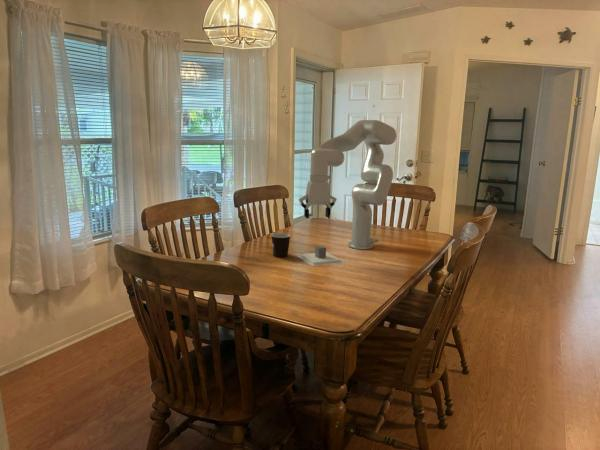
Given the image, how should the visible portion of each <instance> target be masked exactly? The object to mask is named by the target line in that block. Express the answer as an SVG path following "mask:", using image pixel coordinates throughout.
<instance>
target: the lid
mask: <svg viewBox="0 0 600 450" xmlns="http://www.w3.org/2000/svg"><path fill="white" fill-rule="evenodd" d="M314 248H315V249H314V252H313V253H312V252H311V253H303V254H300V256H301V257H303V258H304V259H306V260H307V261H309V262H310V263H312V264H313V265H315V264H324V263H333V262H340V260H341V259H340V258H338V257H336V256H335V255H333V254H331V253H330V252H328V251H327V248H326V246H324V245H315V247H314Z"/></svg>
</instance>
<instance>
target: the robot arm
mask: <svg viewBox="0 0 600 450" xmlns="http://www.w3.org/2000/svg"><path fill="white" fill-rule="evenodd" d="M396 140H397V132H396V129H395V127H393V126H392V125H389V124H387V123H385V122H383V121H380V120H376V119H360V120H358V121H357V122H355V123H354V124H352V126H351V127H349V129H348V130H346V131H345V132H344V133H342V134H340V135H337V136H335V137H332V138H330V139H328V140H326V141H324V142H323V143H321V144H320V145H319V146H318V147H317V148H316V149H312V150H311V152H310V169H309V170H310V171H309V172H310V173H309V181H307V183H306V191H305V195H304V196H302V197H300V198H299V199H298V201H299V204H300V206H301V207H302V208H303V215H304V218H305V219H310V209H309V208H310V206H323V205H325V218H328V219H329V218H330V217H331V209H332V208H333V206H334V205H335V204H336V203H337V198H336V197H334V196H333V195H331V192H330V188H331V187H330V183H329V180H330V179H331V175H329V174H328V172H329V167H332V168H333V167H335V168H336V167H339V166H342V164H344V161H345V154H344V152H349V151H353V150H355V149H357V147H359V145H360V144H361V143H363V141H364V144H365V147H366V155H365V159H364V162H363V165H362V168H361V172H360V178H361V180H362V181H363V182H366V183H357V184H355V185H354V186H353V187H352V189H351V199H352V223H351V241H350V242H348V243H347V246H348V247H349V248H350V249H355V250H371V249H372V248H374V243H379V240H380V239H379V238H374V237H372V223H373V222H372V221H373V220H372V219H373V210H372V207H371V206H377V207H378V206H382V205H384V204H385V202H386V201H387V197H388V196H389V192H390V188H391V185H392V182H393V179H394V178H393V177H394V170H393V167H391V166H390V165H388V164H383V162H384V157H385V155H384V151H383V149H382V146H381V145H386V146H389V145H393V144H394V143H395V142H396ZM369 183H370V184H369ZM371 183H372V184H371ZM304 202H305V203H304Z"/></svg>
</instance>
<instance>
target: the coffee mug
mask: <svg viewBox="0 0 600 450" xmlns="http://www.w3.org/2000/svg"><path fill="white" fill-rule="evenodd" d="M270 238H271V245H272V247H271V248H272V256H273V257H274V258H277V259H279V258H280V259H281V258H287V257H288V255H289V247H290V243H291V242H290V241H291V235H290V234H288V233H283V232H277V233H272V234H271V237H270Z"/></svg>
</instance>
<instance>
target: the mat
mask: <svg viewBox="0 0 600 450" xmlns="http://www.w3.org/2000/svg"><path fill="white" fill-rule="evenodd" d="M297 258H299V259H300V260H302V261H303V262H305V263H306V264H308V265H309V266H311V267H315V266H316V267H317V266H325V265H326V266H327V265H333V264H334V265H335V264H343V263H344V264H345V261H343V260H341V259H340V262H333V263H324V264H315V265H313V264H312V263H310V262H309V261H307V260H306V259H304V258H303V257H301V255H297Z"/></svg>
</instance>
